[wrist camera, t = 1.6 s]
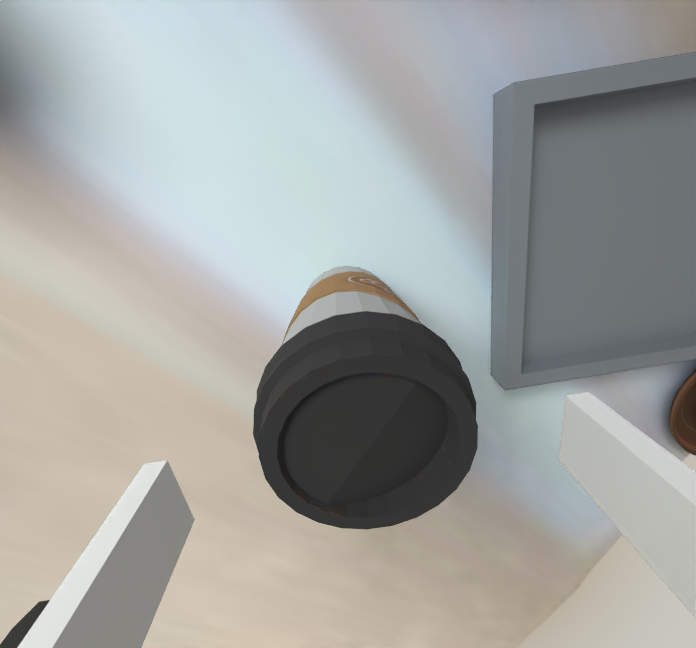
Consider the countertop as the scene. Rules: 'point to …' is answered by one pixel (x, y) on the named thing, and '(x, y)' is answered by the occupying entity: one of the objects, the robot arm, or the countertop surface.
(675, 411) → the cup and saucer
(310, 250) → the countertop surface
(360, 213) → the countertop surface
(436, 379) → the coffee cup
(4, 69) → the countertop surface
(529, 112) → the tray
